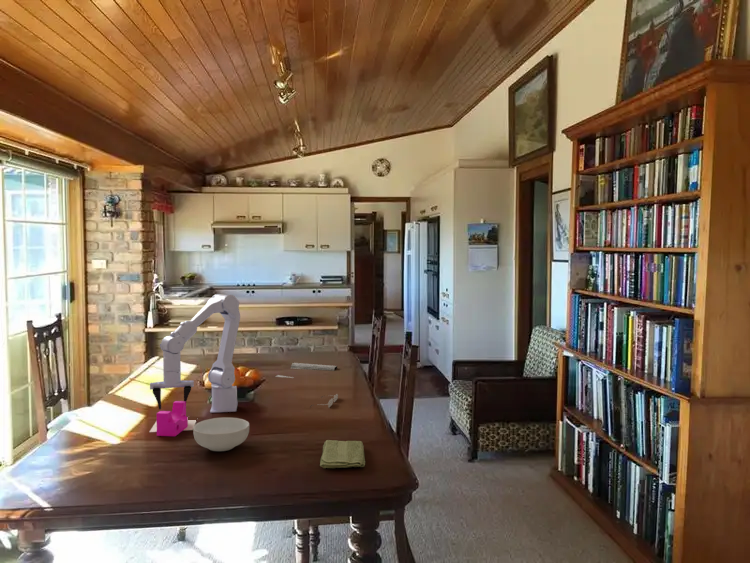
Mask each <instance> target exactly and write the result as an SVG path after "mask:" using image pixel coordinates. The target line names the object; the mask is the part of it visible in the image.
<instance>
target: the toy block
mask: <svg viewBox="0 0 750 563" xmlns="http://www.w3.org/2000/svg"><path fill="white" fill-rule="evenodd" d="M171 409H172V410H159V411H158V412H156V421H157V432H156V437H157V436H158V437H160V436H161V437H176V436H177V435H179V434H180V433H182V432H183V431H185V430H184V429H185V428H186V427H188V417H189V416H187V401H184V400H175V401H173V403H172V408H171Z"/></svg>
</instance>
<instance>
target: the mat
mask: <svg viewBox="0 0 750 563" xmlns="http://www.w3.org/2000/svg"><path fill="white" fill-rule="evenodd" d="M290 369H295V370H296V369H297V370H313V371H332V372H334V371H335V369H338V366H337V365H330V364H329V365H328V364H327V365H326V364H317V363H316V364H314V363H302V362H301V363H300V362H292V364H291V365H290ZM275 378H291V379H294V377H293V376H286V375H281V374H277V375H276V376H275Z"/></svg>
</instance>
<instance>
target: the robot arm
mask: <svg viewBox="0 0 750 563" xmlns="http://www.w3.org/2000/svg"><path fill="white" fill-rule="evenodd" d="M218 313H219V314H220V316H222V318H223V319H224V324H223V327H222V328H223V329H222V333H221V339H220V343H219V349H218V354H217V358H216V360H215V361H214V362H213V363H212V366H211V368H210V370H209V371H208V375H207V378H208V381H209V383H210V384H211V385H210V386H211V408H210V410H209V412H210V414H212V413H228V412H229V413H231V412H233V413H234V412H237V409H238V403H239V402H238V388H237V385H234V383H235V381H236V376H235V370H236V368H235V366H234V364H233V362H232V361H233V356H234V352H235V347H236V342H237V337H238V336H237V335H238V331H239V325H240V322H241V312H240V301H239V300H238V297H236V296H235V295H233V294H222V293H216V294H214V295H212V297H210V298H209V299H208V300H207V302H206V303H205V305H204V306H203V307H202V308H201V309H199V310H198V312H197V313H195V315H194V316H193V317H192V318H191V319H190V320H185V321H181V322H180V324H179V326H177V328H176V329H174V331H171V332H170V335H167V336H165V337H163V338H162V339H161V342H160V344H159V347H160V349H161V351H162V355H163V362H162V364H163V370H162V372H163V374H162V375H163V381H157V382H149V390H152V394H153V396H154V397H155V400H156V403H157V406H158V410H161V409H162V389H170V388H171V389H172V388H173V389H174V388H183V401H186V402H187V401H188V397H189V395H190V393H191V391H192V388H194V386H195V385H194V384H195V381H194V380H182V379H181V377H182V376H181V373H182V372H181V370H182V369H181V352H182V351H183V350H184V346H185V344H186V343H187V342H188V341H189V340H190V339H191V338H192V337H193V336H194V335H195V334H196V333H197V332H198V327H199V326H201V324H203V323H204V322H205V321H206V320H207V319H208V318H210V317H211V316H212V315H213V314H218Z"/></svg>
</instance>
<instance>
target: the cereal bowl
mask: <svg viewBox="0 0 750 563" xmlns="http://www.w3.org/2000/svg"><path fill="white" fill-rule="evenodd" d="M192 431H193V433H192V434H193V437H194V441H195V442H196V443H197V444H198V445H199V446H201V447H203V448H205V449H208V450H210V451H211V452H226V451H230V450H232V449H234V448H235V447H237V446H240V445H241V444H242V443H244V442H245V441H246V439H247V438H248V436H249V433H250V422H249V421H248V420H246V419H243V418H239V417H227V416H226V417H213V418H209V419H204V420H201V421H198V422H196V423H195V425H194V428H193V430H192Z"/></svg>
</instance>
